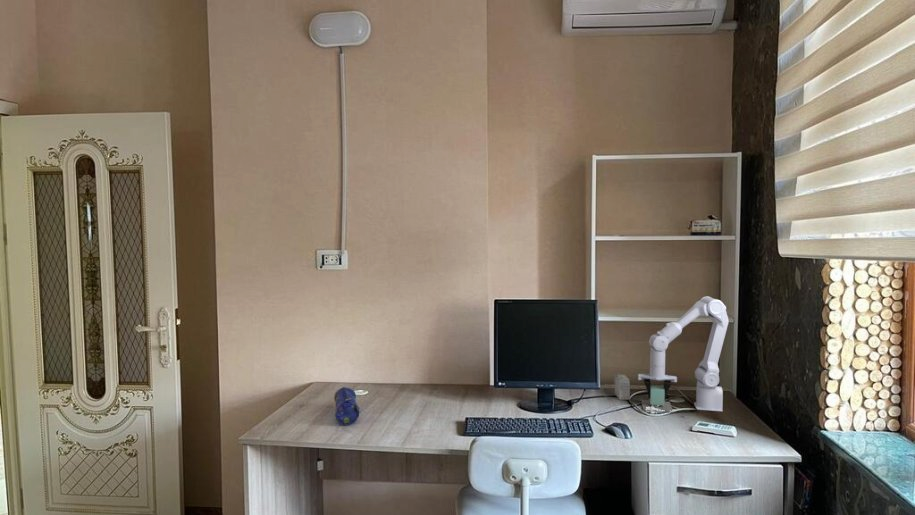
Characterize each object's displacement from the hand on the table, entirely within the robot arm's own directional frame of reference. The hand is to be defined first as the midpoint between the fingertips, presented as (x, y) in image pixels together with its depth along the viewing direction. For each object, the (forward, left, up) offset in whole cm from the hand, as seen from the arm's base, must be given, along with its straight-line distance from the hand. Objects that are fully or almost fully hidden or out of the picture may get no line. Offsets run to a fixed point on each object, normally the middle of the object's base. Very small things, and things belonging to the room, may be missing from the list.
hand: (656, 398), depth 224 cm
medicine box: (+13, -10, -4) cm, 17 cm away
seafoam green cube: (0, 0, -2) cm, 2 cm away
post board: (0, 0, -4) cm, 4 cm away
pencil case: (+117, +39, -4) cm, 123 cm away
